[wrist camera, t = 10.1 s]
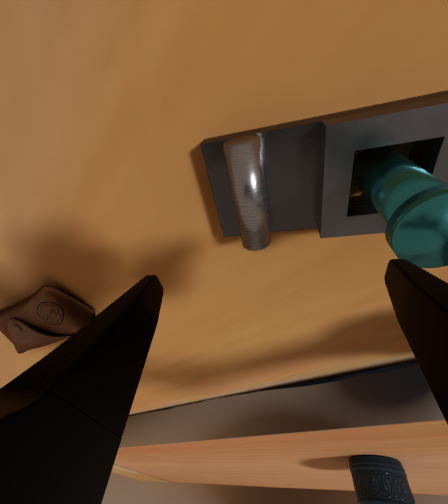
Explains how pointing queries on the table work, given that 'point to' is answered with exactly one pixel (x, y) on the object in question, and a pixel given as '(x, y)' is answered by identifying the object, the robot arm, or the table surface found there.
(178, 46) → the table surface
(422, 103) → the plate
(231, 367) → the table surface
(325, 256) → the table surface
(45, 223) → the table surface
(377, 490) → the canister
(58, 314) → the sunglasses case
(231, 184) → the lower chain end
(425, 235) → the pin
